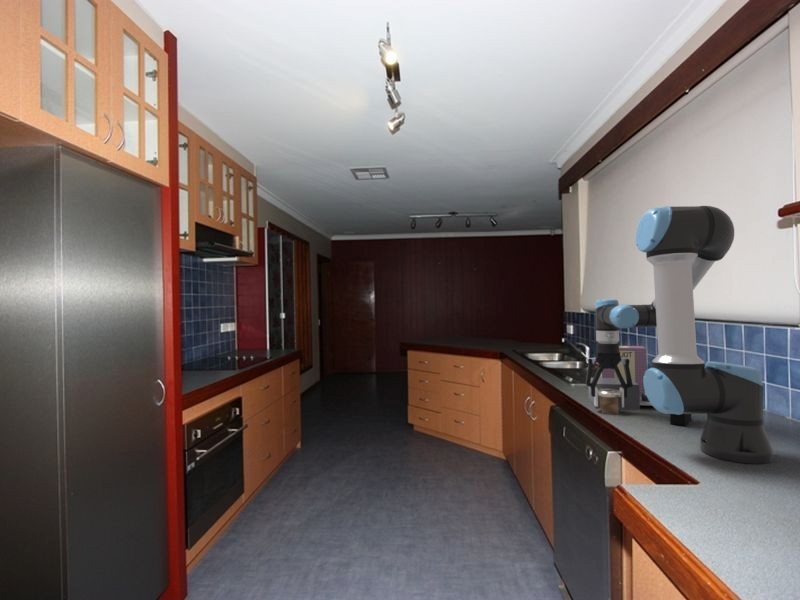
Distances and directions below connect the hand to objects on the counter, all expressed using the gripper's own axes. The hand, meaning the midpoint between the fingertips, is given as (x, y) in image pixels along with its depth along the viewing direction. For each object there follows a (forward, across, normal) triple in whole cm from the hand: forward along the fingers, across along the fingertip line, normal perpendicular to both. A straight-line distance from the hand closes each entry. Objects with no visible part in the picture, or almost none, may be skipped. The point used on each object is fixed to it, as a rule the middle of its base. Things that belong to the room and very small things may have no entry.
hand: (609, 406), depth 158 cm
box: (+2, +12, +33) cm, 36 cm away
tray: (+2, +16, +12) cm, 20 cm away
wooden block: (+2, 0, 0) cm, 2 cm away
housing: (+2, +4, +12) cm, 13 cm away
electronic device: (+2, +19, -11) cm, 22 cm away
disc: (-4, 0, 0) cm, 4 cm away
